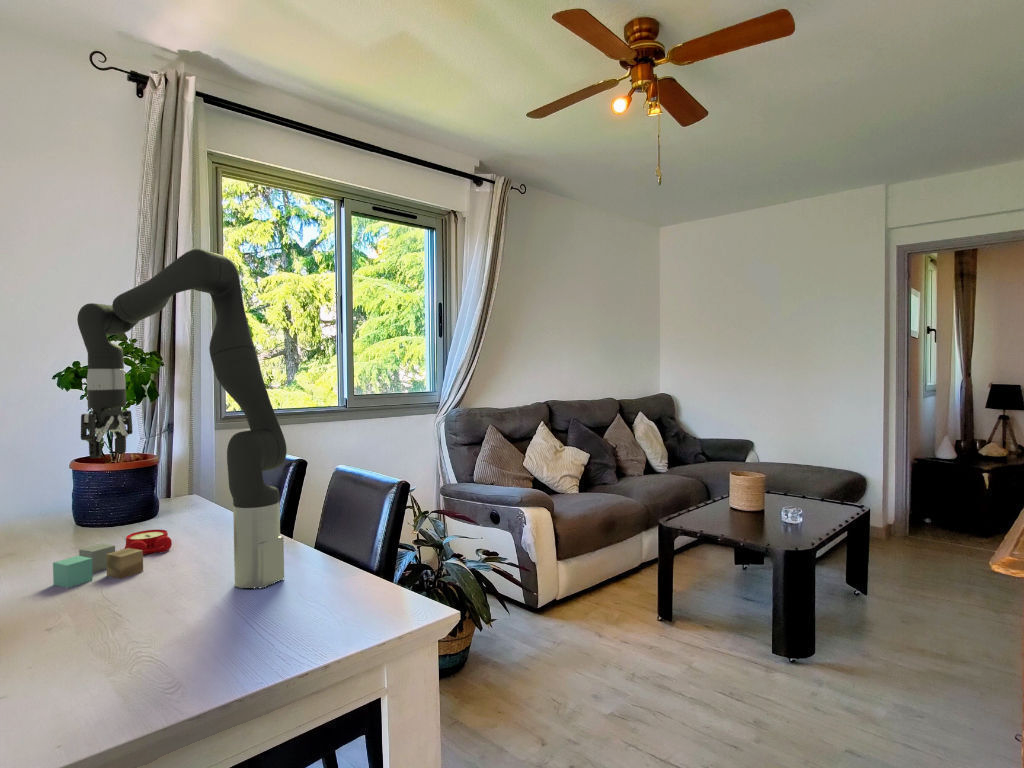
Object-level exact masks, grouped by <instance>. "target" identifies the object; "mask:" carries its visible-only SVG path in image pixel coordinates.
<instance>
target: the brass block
mask: <svg viewBox="0 0 1024 768" xmlns="http://www.w3.org/2000/svg"><path fill="white" fill-rule="evenodd" d="M106 562H107V569H106V576H107V577H111V578H116V579H120V580H121V579H125V578H127V576H128V577H131V576H134V575H137V574H139V572H140V573H142V571H143V572H144V555H143V550H138V549H132V548H127V549H120V550H115V552H113V553H109V554H106Z"/></svg>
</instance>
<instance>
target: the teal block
mask: <svg viewBox="0 0 1024 768" xmlns="http://www.w3.org/2000/svg"><path fill="white" fill-rule="evenodd" d="M52 574H53V575H52V577H53V578H52V579H53V585H54V586H56V585H57V587H60V586H62V587H61V588H65V587H67V588H66V589H69V588H68V587H70V588H73V587H76V586H79V585H82V584H85V582H86V583H88V581H89V582H92V581H93V577H94V576H93V573H92V558H88V557H83V556H79V555H76V556H72V557H68V558H65V559H60V560H57V561H54V562H52ZM81 583H82V584H81ZM78 584H79V585H78ZM75 585H76V586H75ZM72 586H73V587H72Z"/></svg>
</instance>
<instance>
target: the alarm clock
mask: <svg viewBox="0 0 1024 768" xmlns="http://www.w3.org/2000/svg"><path fill="white" fill-rule="evenodd" d="M172 544H173V542H172V538H171V537H170V536H168V530H165V529H145V530H142V531H141V530H140V531H137V532H133V533H129V534H128V535H126V537H125V544H124V545H125V546H124V547H123V548H124V549H127V548H132V549H138V550H143V556H144V555H147V554H148V553H149V554H154V553H158V554H161V553H160V552H163V553H165V551H166V552H168V551H170V549H171V547H172Z"/></svg>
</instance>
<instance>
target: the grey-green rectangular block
mask: <svg viewBox="0 0 1024 768" xmlns="http://www.w3.org/2000/svg"><path fill="white" fill-rule="evenodd" d="M113 552H116V545H113V544H110V543H109V544H108V543H103V542H102V543H101V542H100V543H98V544H94V545H90V546H86V547H84V548H79V549H78V553H79V554H78V556H83V557H88V558H92V574H94V573H97V572H100V571H101V572H102V571H104V570H107V562H106V554H109V553H113Z"/></svg>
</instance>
